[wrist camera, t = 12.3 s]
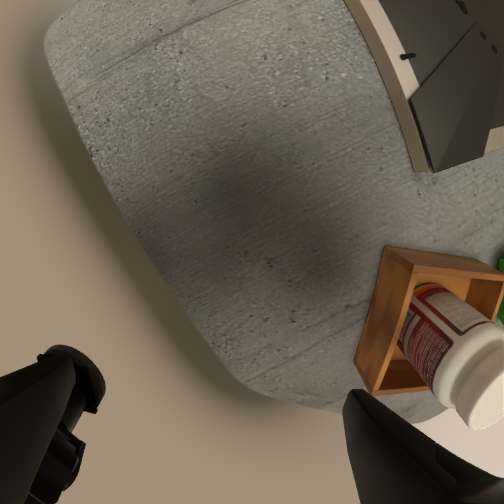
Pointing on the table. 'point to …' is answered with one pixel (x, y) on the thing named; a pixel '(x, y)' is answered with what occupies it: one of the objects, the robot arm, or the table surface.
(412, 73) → the picture frame
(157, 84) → the table surface
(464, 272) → the oak box
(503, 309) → the fruit basket
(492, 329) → the pill bottle
